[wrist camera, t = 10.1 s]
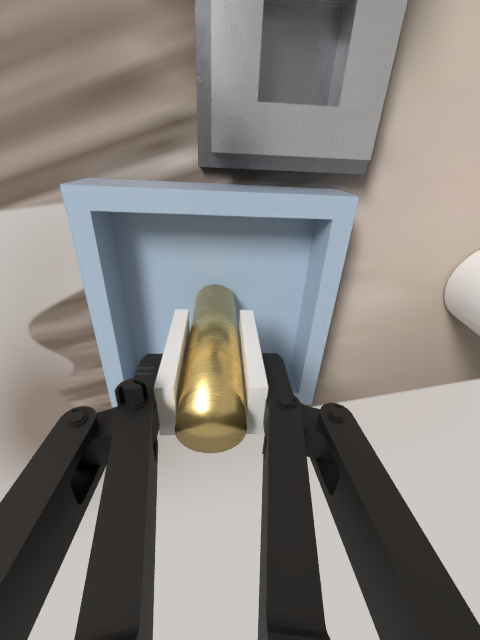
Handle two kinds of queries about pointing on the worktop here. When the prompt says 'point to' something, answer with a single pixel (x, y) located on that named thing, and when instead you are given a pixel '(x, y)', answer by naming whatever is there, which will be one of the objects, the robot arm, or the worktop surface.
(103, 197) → the tray
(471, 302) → the mug
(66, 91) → the worktop surface
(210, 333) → the pin
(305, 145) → the tensioner
